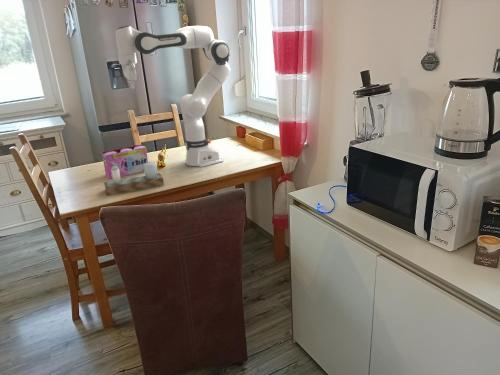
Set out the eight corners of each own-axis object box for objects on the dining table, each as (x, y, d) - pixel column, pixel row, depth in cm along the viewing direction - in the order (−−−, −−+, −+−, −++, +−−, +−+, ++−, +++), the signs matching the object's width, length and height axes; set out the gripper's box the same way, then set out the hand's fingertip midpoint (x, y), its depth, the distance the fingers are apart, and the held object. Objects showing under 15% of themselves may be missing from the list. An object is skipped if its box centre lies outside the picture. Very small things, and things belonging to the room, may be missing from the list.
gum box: (146, 166, 232) (143, 143, 227) (151, 169, 226) (148, 146, 221) (105, 175, 220) (101, 151, 215) (109, 179, 214) (105, 155, 209)
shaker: (120, 180, 199) (117, 164, 196) (121, 183, 196) (118, 166, 193) (113, 181, 198) (110, 165, 195) (113, 184, 195) (111, 167, 192)
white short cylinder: (156, 173, 207) (155, 161, 205) (159, 177, 202) (157, 164, 199) (144, 175, 205) (142, 163, 202) (146, 179, 199) (144, 166, 197)
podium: (160, 180, 210) (159, 172, 209) (164, 185, 203) (163, 177, 202) (105, 189, 200) (103, 182, 198) (106, 195, 193) (105, 187, 192)
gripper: (137, 61, 196) (141, 89, 201) (131, 58, 213) (134, 84, 218) (124, 61, 193) (128, 90, 199) (118, 59, 211) (122, 85, 216)
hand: (131, 87), depth 209 cm, fingers open, 8 cm apart
